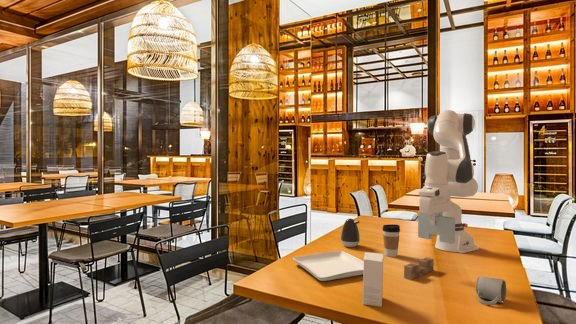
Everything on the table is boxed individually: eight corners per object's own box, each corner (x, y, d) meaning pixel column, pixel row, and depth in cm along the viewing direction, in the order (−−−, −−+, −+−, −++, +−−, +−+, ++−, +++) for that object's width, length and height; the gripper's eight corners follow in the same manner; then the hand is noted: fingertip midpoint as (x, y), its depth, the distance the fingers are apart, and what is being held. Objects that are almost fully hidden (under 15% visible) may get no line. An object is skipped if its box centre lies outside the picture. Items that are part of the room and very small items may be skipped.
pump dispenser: (355, 249, 176) (355, 221, 175) (337, 246, 182) (337, 218, 182) (363, 245, 184) (363, 218, 183) (346, 242, 190) (346, 216, 190)
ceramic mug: (480, 292, 122) (480, 271, 122) (506, 299, 116) (506, 277, 116) (471, 302, 114) (471, 280, 114) (499, 310, 108) (499, 286, 108)
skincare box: (364, 294, 120) (364, 251, 119) (383, 297, 118) (383, 253, 117) (362, 305, 111) (362, 258, 111) (382, 307, 110) (383, 260, 109)
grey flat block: (418, 237, 143) (418, 213, 142) (421, 236, 145) (421, 213, 144) (451, 243, 132) (451, 218, 132) (454, 242, 134) (455, 217, 134)
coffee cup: (401, 258, 162) (401, 227, 161) (382, 257, 163) (383, 226, 163) (398, 253, 170) (399, 223, 170) (381, 252, 172) (381, 223, 171)
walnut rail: (426, 268, 147) (426, 257, 147) (433, 270, 145) (433, 258, 145) (404, 277, 136) (404, 265, 136) (410, 280, 134) (410, 267, 133)
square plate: (291, 264, 153) (291, 256, 153) (342, 257, 164) (342, 249, 164) (319, 286, 128) (319, 276, 128) (377, 276, 139) (377, 266, 139)
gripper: (440, 188, 147) (440, 219, 147) (416, 191, 134) (416, 225, 134) (455, 189, 142) (454, 222, 142) (431, 192, 129) (431, 228, 129)
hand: (435, 223), depth 138 cm, fingers closed on grey flat block, 3 cm apart
